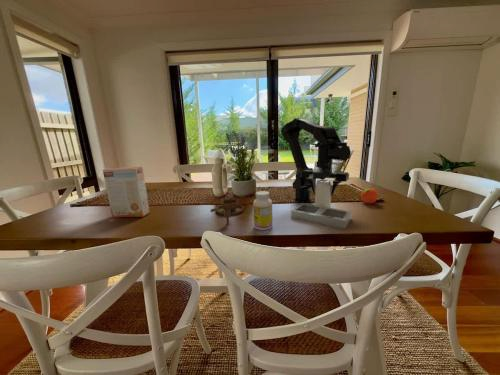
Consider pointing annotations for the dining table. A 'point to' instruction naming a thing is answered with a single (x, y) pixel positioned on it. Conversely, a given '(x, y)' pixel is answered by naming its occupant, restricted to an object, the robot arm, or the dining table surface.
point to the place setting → (229, 208)
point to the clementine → (369, 195)
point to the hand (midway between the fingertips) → (323, 194)
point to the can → (323, 193)
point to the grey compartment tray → (322, 215)
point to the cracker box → (126, 191)
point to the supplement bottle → (262, 211)
